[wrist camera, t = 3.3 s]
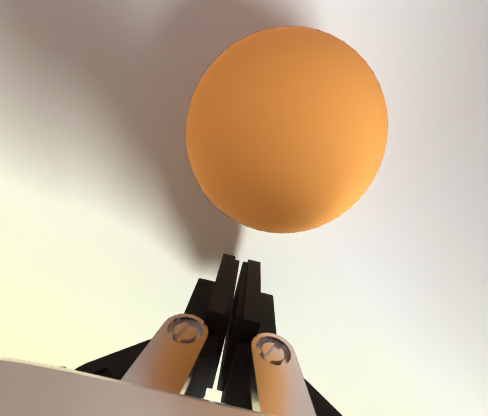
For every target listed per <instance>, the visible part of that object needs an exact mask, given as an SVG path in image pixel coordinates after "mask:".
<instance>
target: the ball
mask: <svg viewBox="0 0 488 416" xmlns="http://www.w3.org/2000/svg"><path fill="white" fill-rule="evenodd" d="M387 131H388V120H387V109H386V104H385V99H384V96H383V93H382V90H381V87H380V84H379V82H378V81H377V79H376V77H375V75H374V73H373V71H372V70H371V68H370V67H369V66H368V64H367V63H366V61H365V60H364V59H363V58H362V57H361V56H360V55H359V54H358V53H357V52H356V51H355V50H354V49H353V48H351V47H350V46H349V45H347V44H346V43H345V42H344V41H342V40H340V39H338V38H336V37H334V36H333V35H331V34H328V33H325V32H323V31H320V30H317V29H312V28H307V27H297V26H285V27H275V28H270V29H266V30H262V31H258V32H256V33H253V34H251V35H249V36H246V37H244V38H242V39H241V40H239V41H237V42H236V43H234V44H232V45H231V46H230V47H229V48H227V49H226V50H225V51H224V52H222V53H221V54H220V55H219V56H218V57H217V58H216V59H215V60H214V61H213V62H212V63H211V65H210V66H209V67H208V69H207V70H206V72H205V73H204V74H203V76H202V78H201V79H200V81H199V83H198V85H197V87H196V89H195V91H194V94H193V96H192V99H191V102H190V106H189V110H188V114H187V122H186V146H187V153H188V157H189V161H190V165H191V168H192V170H193V173H194V176H195V178H196V180H197V182H198V183H199V185H200V187H201V189H202V190H203V192H204V193H205V194H206V196H207V197H208V198H209V199H210V201H211V202H212V203H213V204H214V205H215V206H216V207H217V208H218V209H220V210H221V211H222V212H223V213H224V214H226V215H227V216H229V217H230V218H232V219H233V220H235V221H237V222H239V223H241V224H243V225H245V226H247V227H250V228H253V229H256V230H260V231H265V232H271V233H295V232H301V231H306V230H310V229H313V228H316V227H319V226H321V225H324V224H326V223H328V222H330V221H332V220H333V219H335V218H337V217H339V216H340V215H341V214H343V213H344V212H345V211H347V210H348V209H349V208H350V207H351V206H352V205H354V204H355V203H356V202H357V201H358V200H359V199H360V197H361V196H362V195H363V194H364V192H365V191H366V190H367V189H368V187H369V185H370V184H371V182H372V181H373V179H374V177H375V175H376V173H377V171H378V169H379V167H380V164H381V161H382V158H383V155H384V152H385V147H386V142H387Z"/></svg>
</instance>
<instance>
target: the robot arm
mask: <svg viewBox="0 0 488 416" xmlns="http://www.w3.org/2000/svg"><path fill="white" fill-rule="evenodd" d="M238 267H239V261H238V260H235V256H231V255H227V254H224V255H223V258H222V261H221V265H220V268H219V271H218V275H217V278H216V281H215V282H214V281H210V280H206V279H201V278H199V279H198V282H197V284H196V286H195V289H194V291H193V294H192V296H191V298H190V301H189V303H188V305H187V308H186V310H185V312H184V314H178V315H174V316H172V317H170V318H168V319H167V320H166V321H165V322H164V324H163V325H162V326H161V327H160V329H159V330H158V331H157V333H156V334H155V335H154V337H153V338H152V339H150V340H147V341H144V342H142V343H139V344H136V345H134V346H131V347H128V348H126V349H123V350H120V351H118V352H115V353H112V354H110V355H107V356H104V357H102V358H99V359H96V360H94V361H91V362H88V363H86V364H84V365H82V366H80V367H78V368H77V369H75V370H71V369H67V368H66V367H57V366H52V365H46V364H41V363H35V362H30V361H24V360H19V359H11V358H2V357H0V416H342V415H341V414H340V413H339V412H338V411H337V410H336V409H335V408H334V407H333V406H332V405H331V404H330V403H329V402H328V401H327V400H326V399H325V398H324V397H323V396H322V395H321V394H320V393H319V392H318V391H317V390H316V389H315V388H314V387H313V386H312V385H311V384H310V383H309V382H307V381H306V380H305V379H304V377H303V374H302V371H301V368H300V365H299V363H298V360H297V357H296V354H295V351H294V349H293V347H292V346H291V345H290V344H289V342H288V341H286V340H285V339H284V338H282V337H280V336H278V335H276V325H275V313H274V301H273V296H272V295H269V294H265V293H261V275H260V262H257V261H252V260H248V262H243V264H242V267H241V271H240V275H239V279H238V283H237V287H236V291H235V285H236V279H237V273H238ZM234 292H235V295H234ZM233 298H234V299H233ZM225 336H226V338H225ZM224 340H225V344H224ZM223 344H224V350H223V356H222V362H221V368H220V374H219V380H218V386H217V390H219V391H222V398H221V403H218V402H214V401H209V400H205V399H201V398H204V396H205V392H206V388H211V389H212V387H213V384H214V380H215V376H216V372H217V368H218V364H219V360H220V356H221V352H222V348H223ZM222 403H224V404H222Z"/></svg>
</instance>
